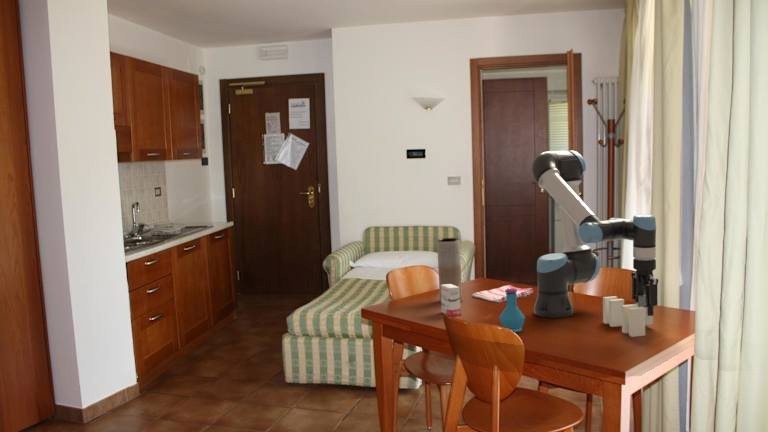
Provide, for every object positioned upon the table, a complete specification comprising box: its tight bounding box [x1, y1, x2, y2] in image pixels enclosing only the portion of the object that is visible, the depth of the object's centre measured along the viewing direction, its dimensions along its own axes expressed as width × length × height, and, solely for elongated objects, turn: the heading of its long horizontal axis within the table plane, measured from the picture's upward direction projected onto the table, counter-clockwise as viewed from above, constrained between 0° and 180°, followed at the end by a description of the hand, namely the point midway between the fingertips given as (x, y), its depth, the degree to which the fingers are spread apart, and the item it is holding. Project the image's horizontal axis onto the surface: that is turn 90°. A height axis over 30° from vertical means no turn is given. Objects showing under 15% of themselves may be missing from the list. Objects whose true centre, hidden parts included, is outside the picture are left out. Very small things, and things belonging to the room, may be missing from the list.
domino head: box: [602, 295, 619, 325], centre depth 240 cm, size 2×5×10 cm, turn 99°
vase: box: [436, 237, 463, 303], centre depth 287 cm, size 10×10×28 cm
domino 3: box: [638, 294, 651, 326], centre depth 233 cm, size 2×5×10 cm, turn 9°
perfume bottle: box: [498, 288, 526, 333], centre depth 238 cm, size 9×9×15 cm
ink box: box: [440, 284, 462, 317], centre depth 266 cm, size 8×5×12 cm, turn 20°
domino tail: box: [628, 307, 646, 338], centre depth 223 cm, size 2×5×10 cm, turn 99°
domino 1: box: [609, 298, 625, 328], centre depth 236 cm, size 2×5×10 cm, turn 99°
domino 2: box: [621, 303, 638, 334], centre depth 227 cm, size 2×5×10 cm, turn 99°
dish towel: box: [472, 284, 534, 304], centre depth 294 cm, size 17×23×4 cm
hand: (644, 321), depth 234 cm, fingers closed on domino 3, 5 cm apart
